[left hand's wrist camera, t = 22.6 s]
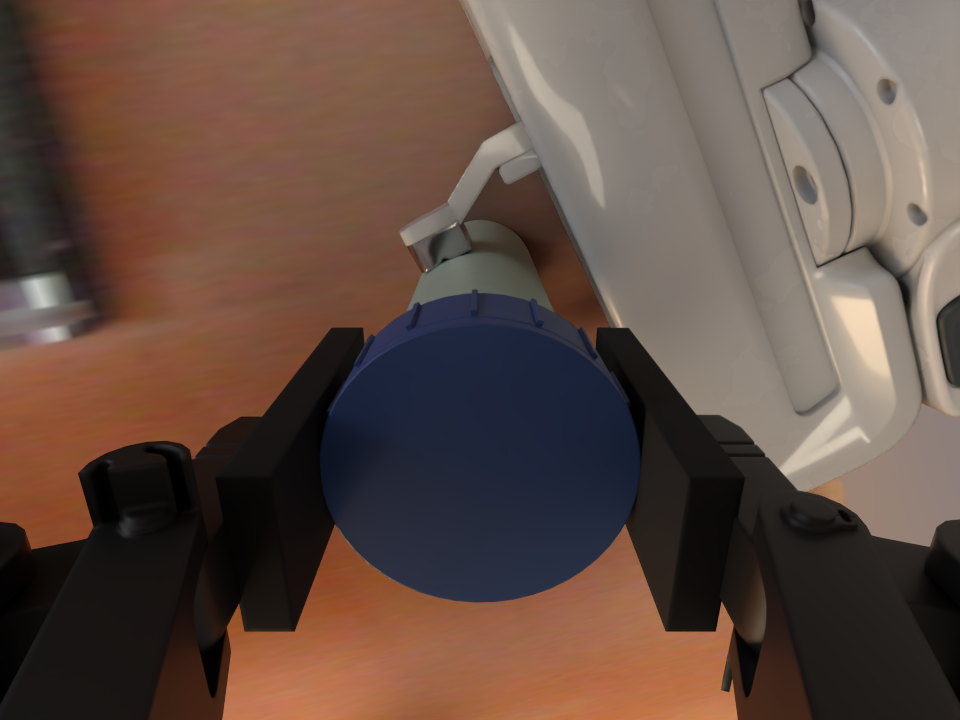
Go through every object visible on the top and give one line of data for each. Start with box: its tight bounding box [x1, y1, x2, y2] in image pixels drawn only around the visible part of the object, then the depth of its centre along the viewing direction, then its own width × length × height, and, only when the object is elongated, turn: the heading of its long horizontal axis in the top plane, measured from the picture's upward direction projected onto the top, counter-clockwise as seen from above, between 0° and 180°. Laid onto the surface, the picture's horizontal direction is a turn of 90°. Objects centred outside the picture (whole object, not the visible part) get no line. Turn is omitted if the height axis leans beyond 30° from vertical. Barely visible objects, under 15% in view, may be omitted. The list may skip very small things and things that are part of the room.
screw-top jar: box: [406, 220, 554, 312], centre depth 18 cm, size 5×5×15 cm
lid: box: [319, 289, 641, 602], centre depth 11 cm, size 6×6×2 cm
